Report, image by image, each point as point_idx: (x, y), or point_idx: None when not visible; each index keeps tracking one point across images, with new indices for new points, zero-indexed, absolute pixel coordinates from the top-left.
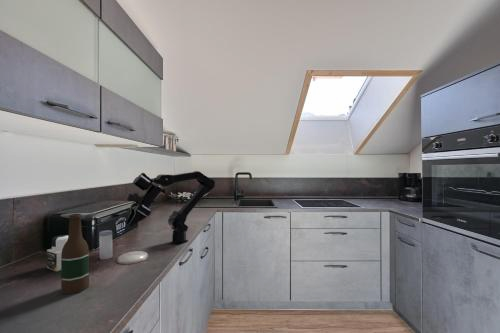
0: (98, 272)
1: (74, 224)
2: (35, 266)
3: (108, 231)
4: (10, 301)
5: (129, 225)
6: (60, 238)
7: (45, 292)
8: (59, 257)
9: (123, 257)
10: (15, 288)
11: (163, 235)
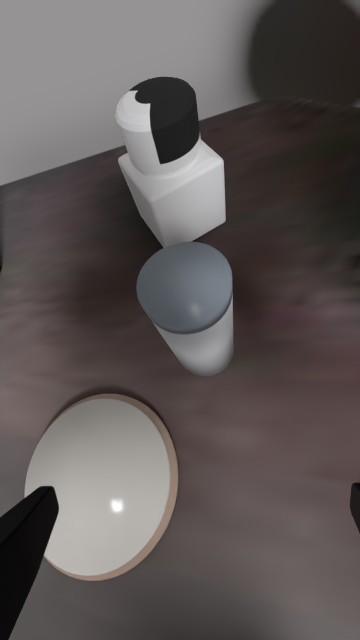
0: (43, 328)
1: None
2: (230, 156)
3: (183, 298)
4: (18, 185)
5: (38, 496)
6: (121, 102)
7: (10, 227)
8: (128, 183)
9: (100, 423)
10: (83, 170)
11: None
